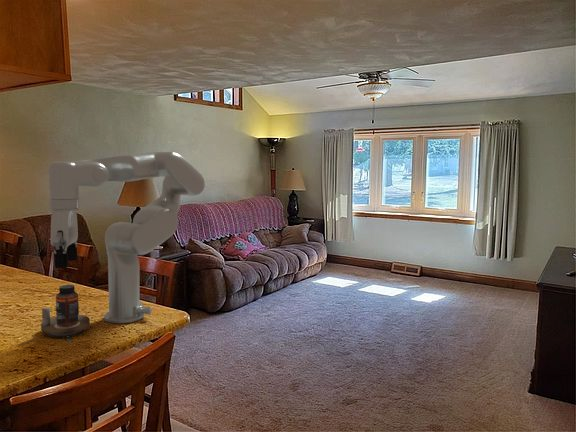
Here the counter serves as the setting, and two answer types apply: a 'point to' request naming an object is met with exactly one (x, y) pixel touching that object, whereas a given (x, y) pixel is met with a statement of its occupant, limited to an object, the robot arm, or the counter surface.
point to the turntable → (51, 326)
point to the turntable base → (65, 335)
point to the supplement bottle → (67, 306)
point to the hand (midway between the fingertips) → (66, 263)
